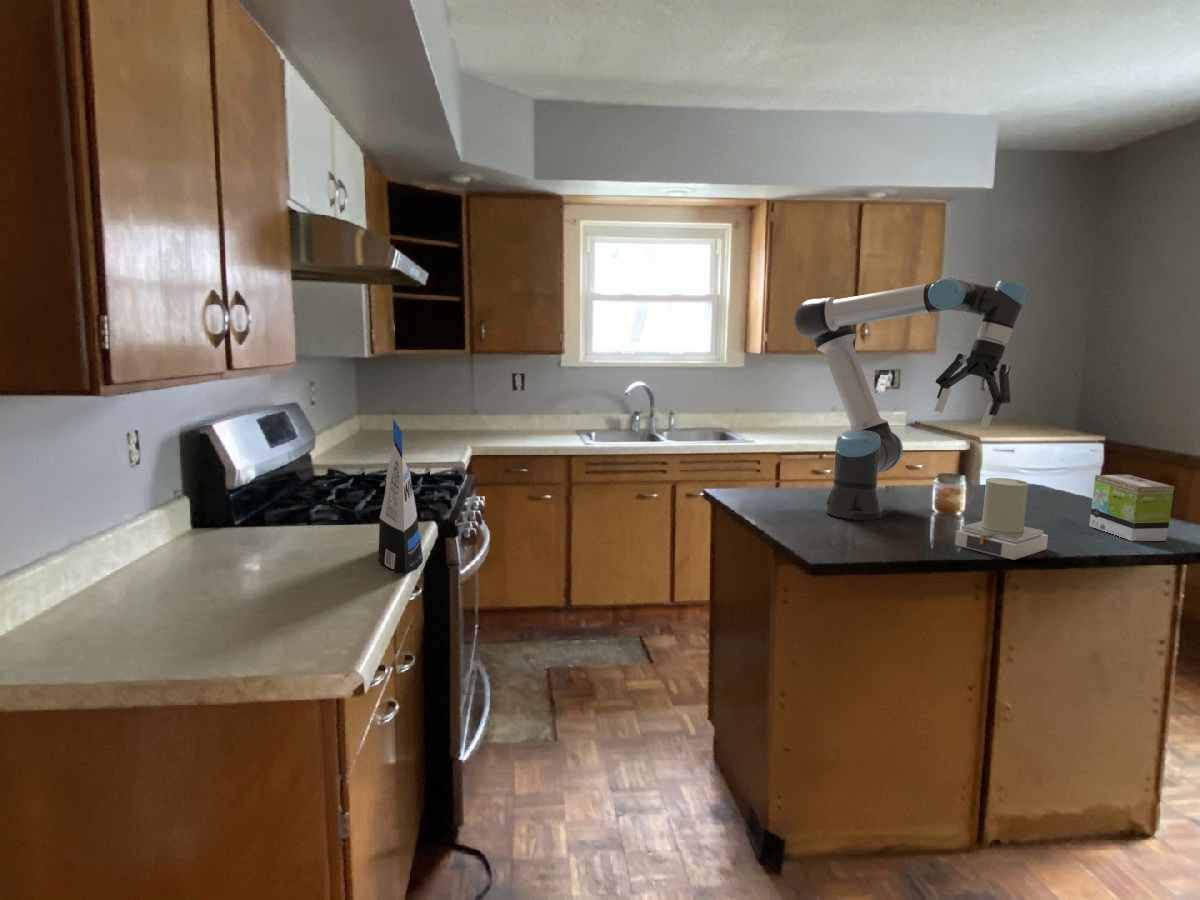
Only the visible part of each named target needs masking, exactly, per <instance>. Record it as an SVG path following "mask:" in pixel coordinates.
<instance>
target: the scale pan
mask: <svg viewBox="0 0 1200 900" xmlns="http://www.w3.org/2000/svg"><path fill="white" fill-rule="evenodd" d="M981 523H982V520H980V521H977V522H971V523H969V524H963V525H962V526H961V530H964V531H968V532H972V533H977V534H981V535H980V544H985V538H987V537H994V538H998V539H1002V540H1007V541H1011V542H1015V543H1017V542H1020V541H1024V540H1027V539H1030V538H1034V537H1037V536H1040V535H1043V534H1044V531H1045V530H1043V529H1038V528H1035V527H1030V526H1029V527H1028V526H1024V531H1023V532H1021V533H1004V532H997V531H992V530H988V529H985V528H983V527H982V526H981Z"/></svg>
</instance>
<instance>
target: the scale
mask: <svg viewBox="0 0 1200 900" xmlns="http://www.w3.org/2000/svg"><path fill="white" fill-rule="evenodd" d="M980 535H981V534H977V533H972V532H968V531H964V530H962V529H959V530H956V531H955V541H954V546H957V547H961V548H965V549H969V550H974V551H977V552H981V553H985V554H989V555H992V556H997V557H1002V558H1004V559H1009V560H1013V561H1014V560H1019V559H1021V558H1024V557H1027V556H1031V555H1034V554H1036V553H1039V552H1042V551H1045V550H1047V548H1048V539H1049V535H1048V534H1045V533H1043V535H1040V536H1037V537H1034V538H1030V539H1027V540H1024V541H1020V542H1017V543H1015V542H1011V541H1007V540H1002V539H998V538H994V537H987V538H985V544H980Z"/></svg>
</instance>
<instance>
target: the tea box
mask: <svg viewBox="0 0 1200 900" xmlns="http://www.w3.org/2000/svg"><path fill="white" fill-rule="evenodd" d="M1174 491H1175V486H1174V485H1173V486H1172V485H1169V484H1165V483H1162V482H1158V481H1153V480H1150V479H1146V478H1142V477H1139V476H1135V475H1131V474H1103V475H1102V474H1101V475H1100V474H1099V475H1098V474H1095V476H1094V483H1093V493H1092V501H1091V509H1090V517H1089V528H1094V529H1097V530H1099V531H1102V532H1104V531H1105V532H1104V533H1107V532H1108V534H1109V533H1111V534H1110V535H1112V534H1114V535H1113V536H1115V535H1117V536H1119V537H1118V538H1120V537H1122V538H1125V539H1128V540H1131V541H1135V540H1136V541H1137V540H1161V539H1168V532H1169V527H1170V518H1171V511H1172V508H1173V507H1172V506H1173V500H1174ZM1117 536H1116V537H1117ZM1122 538H1121V539H1122ZM1125 539H1124V540H1125Z"/></svg>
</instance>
